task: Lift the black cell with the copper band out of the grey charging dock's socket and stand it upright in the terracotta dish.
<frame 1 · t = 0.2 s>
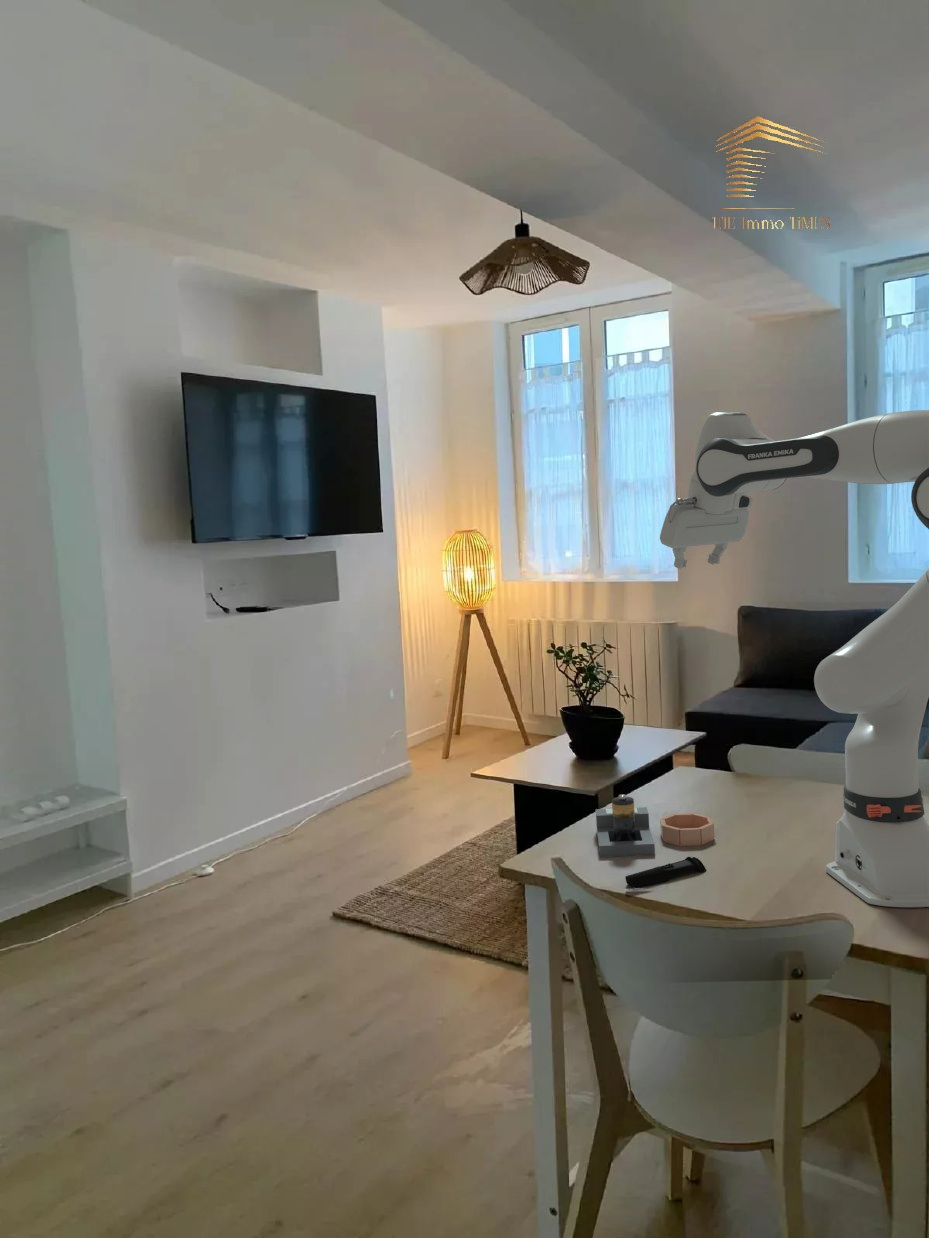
hand: (696, 565, 183), 52 cm above the table, tool tilted 20°, fingers open, 8 cm apart
cell: (625, 845, 177), resting on grey charging dock
dish: (687, 838, 180), on the table
electric trimmer: (667, 882, 161), on the table
grey charging dock: (624, 844, 179), on the table
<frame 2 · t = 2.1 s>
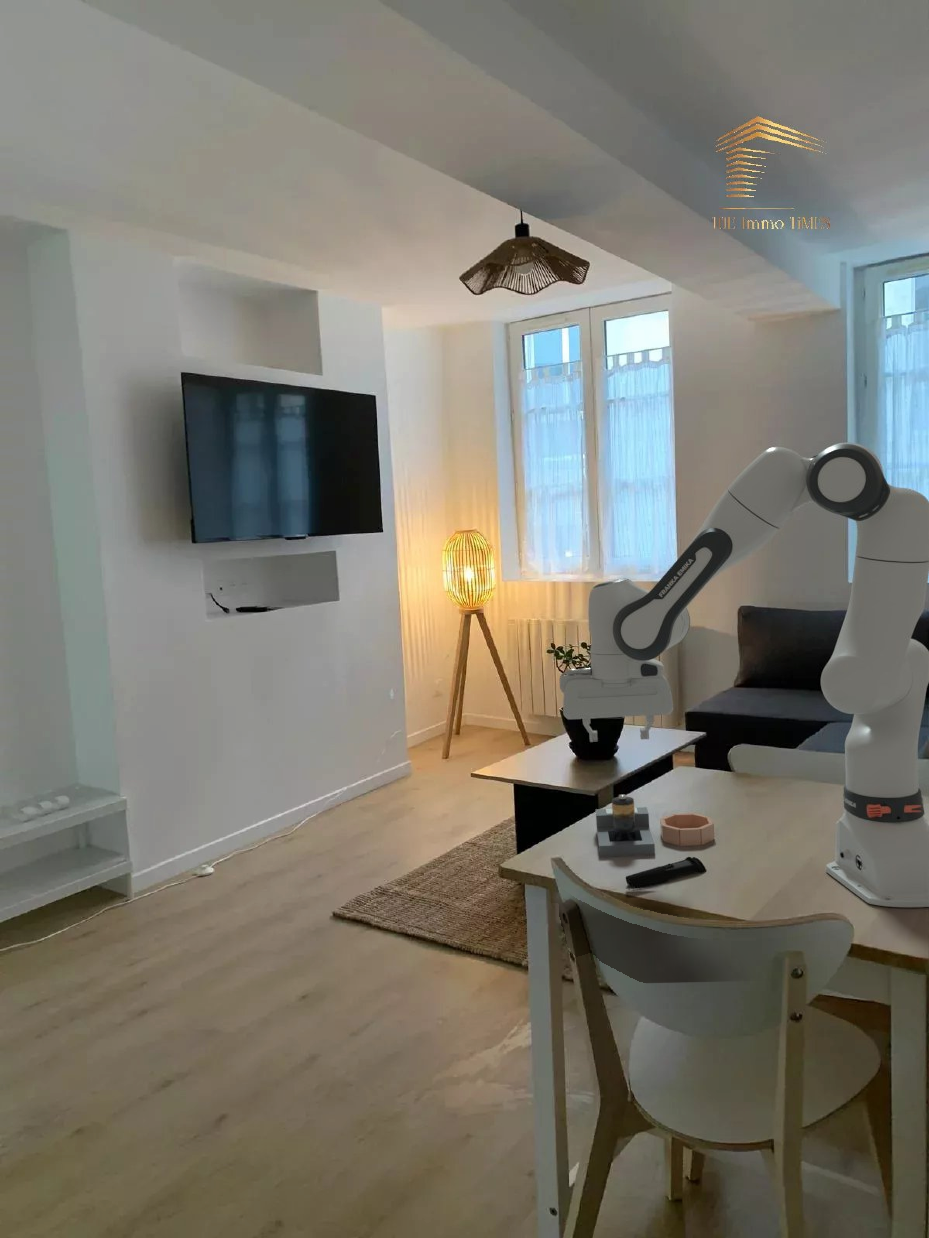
hand: (619, 739, 175), 21 cm above the table, tool pointing down, fingers open, 8 cm apart
nothing on the table moved.
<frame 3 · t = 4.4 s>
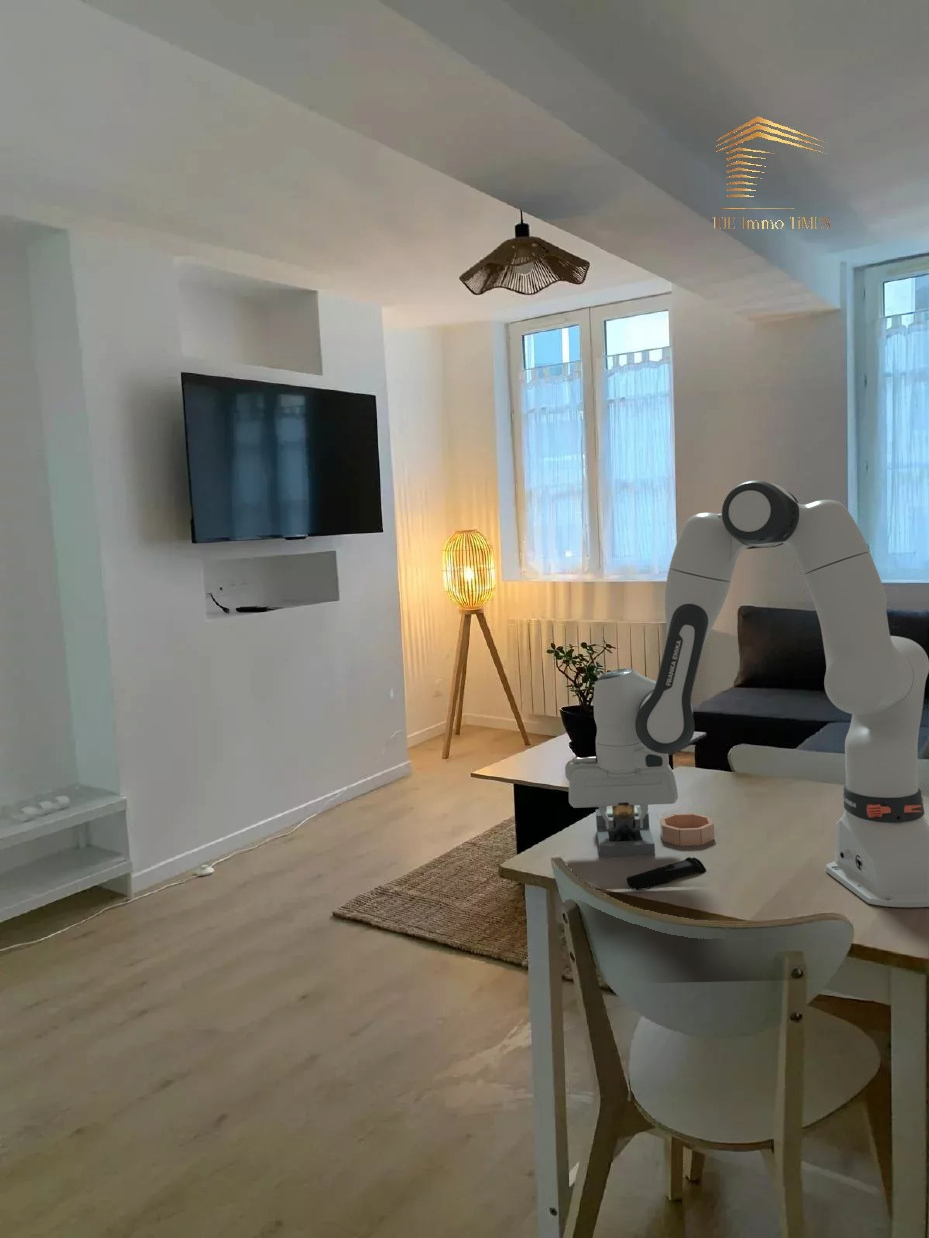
hand: (624, 827, 177), 4 cm above the table, tool pointing down, fingers closed on cell, 4 cm apart
cell: (625, 845, 177), resting on grey charging dock, touching gripper
everything else where it was.
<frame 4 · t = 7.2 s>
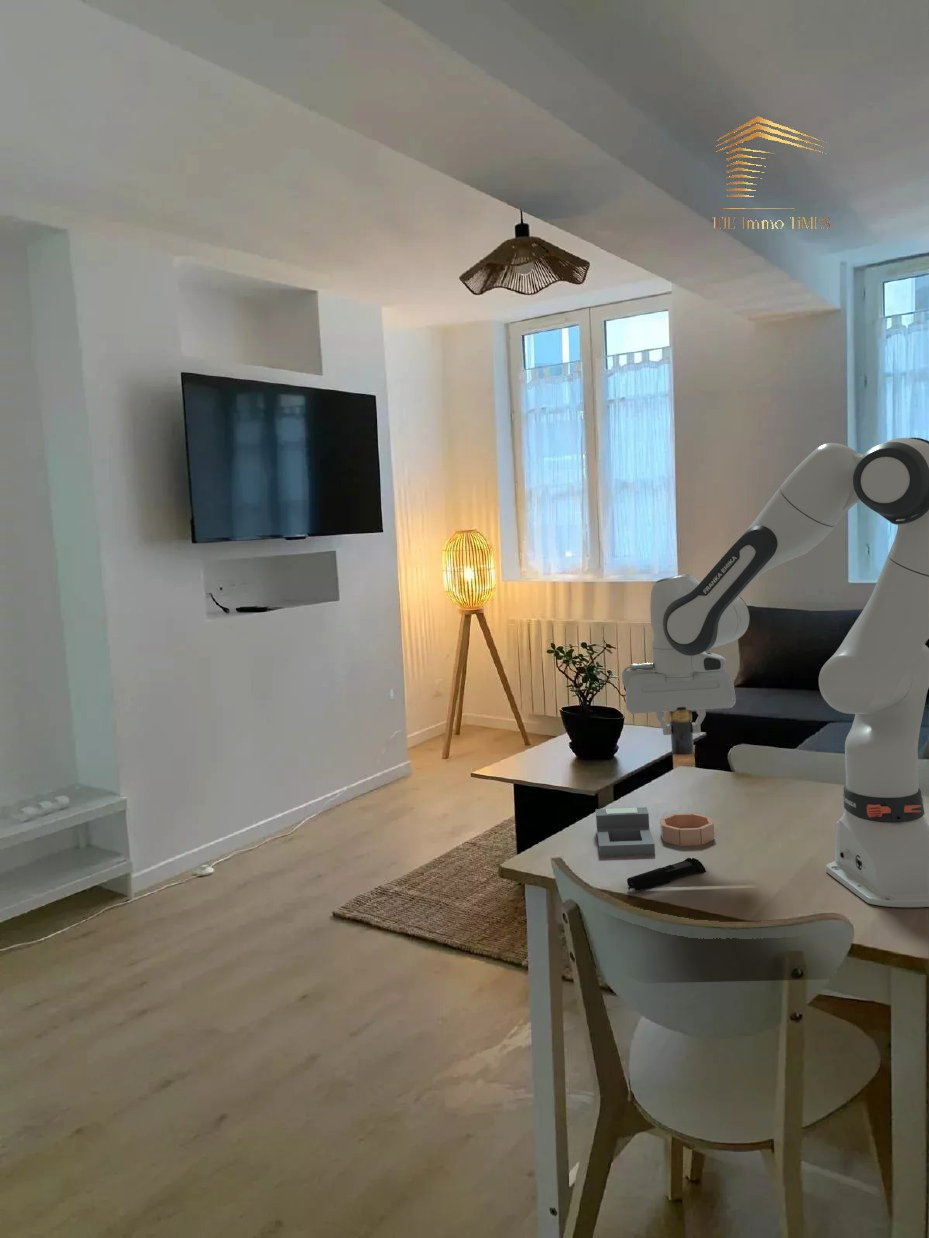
hand: (681, 733, 177), 21 cm above the table, tool pointing down, fingers closed on cell, 4 cm apart
cell: (682, 752, 178), point 17 cm above the table, touching gripper
everything else where it was.
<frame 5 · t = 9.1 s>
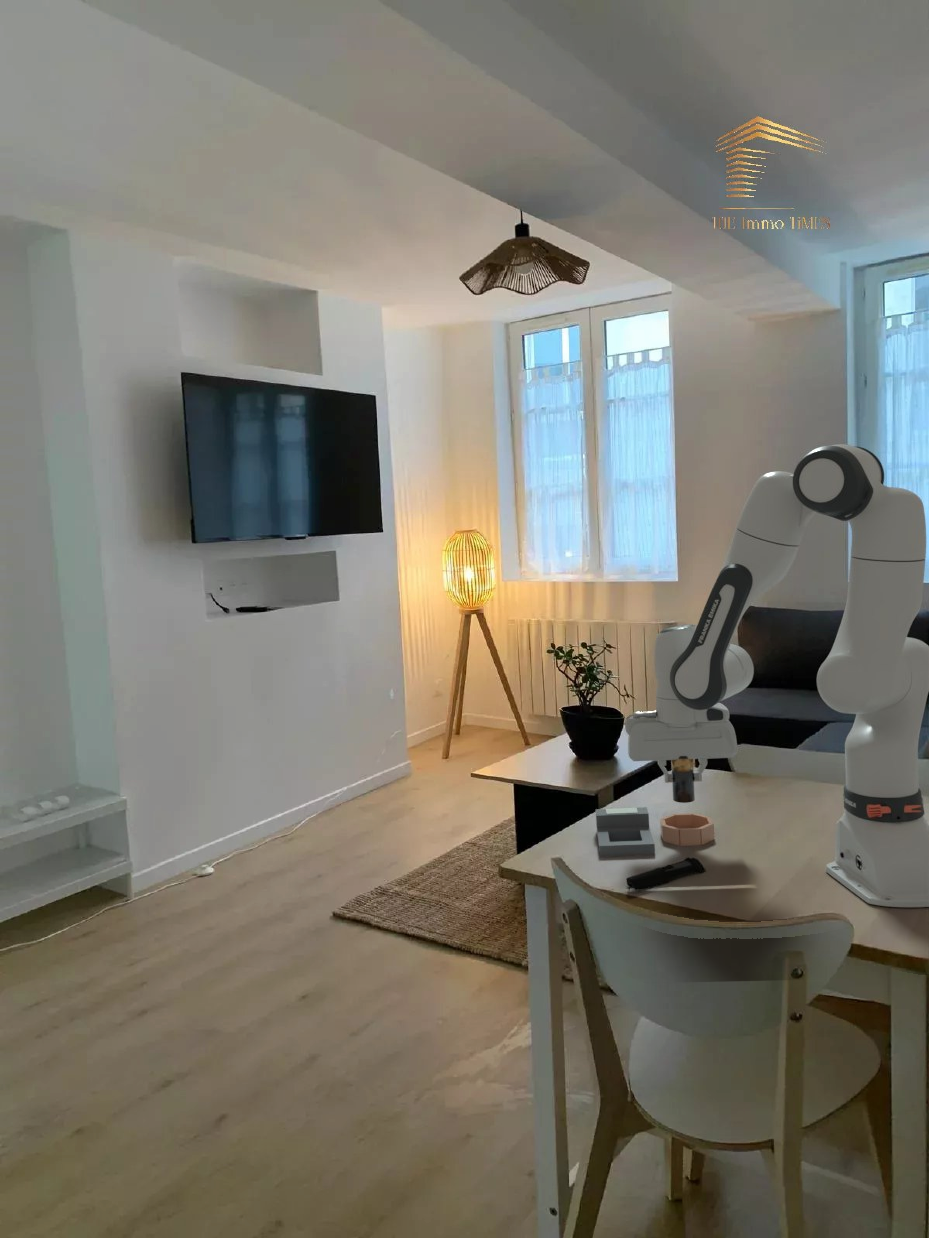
hand: (683, 781, 179), 11 cm above the table, tool pointing down, fingers closed on cell, 4 cm apart
cell: (683, 799, 179), point 8 cm above the table, touching gripper
everything else where it was.
when the fingers open (6 cm above the table, at t = 10.6 s): cell drops 1 cm, resting on dish.
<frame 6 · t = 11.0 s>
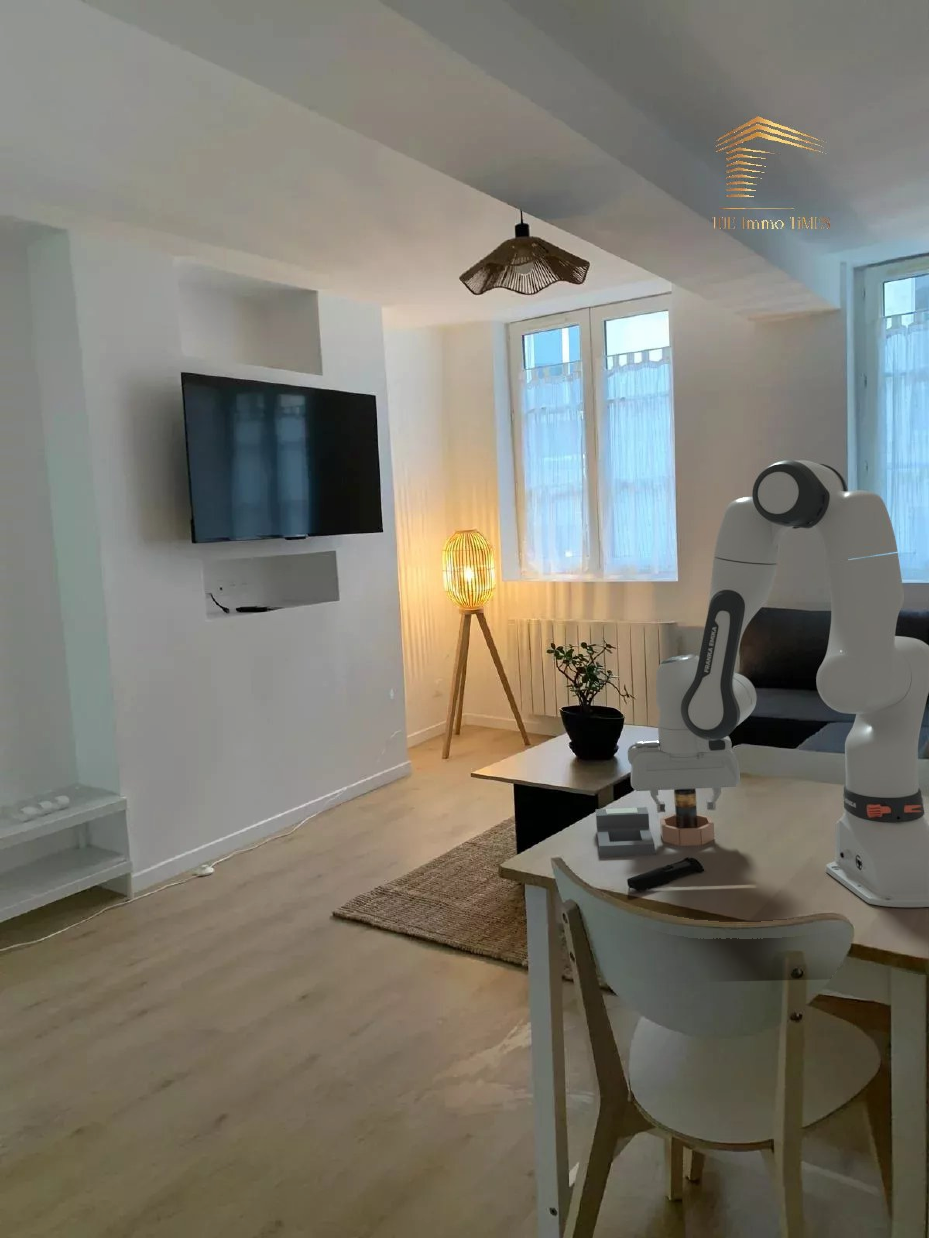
hand: (686, 810, 179), 6 cm above the table, tool pointing down, fingers open, 8 cm apart
cell: (687, 834, 180), point 1 cm above the table, touching dish
everything else where it was.
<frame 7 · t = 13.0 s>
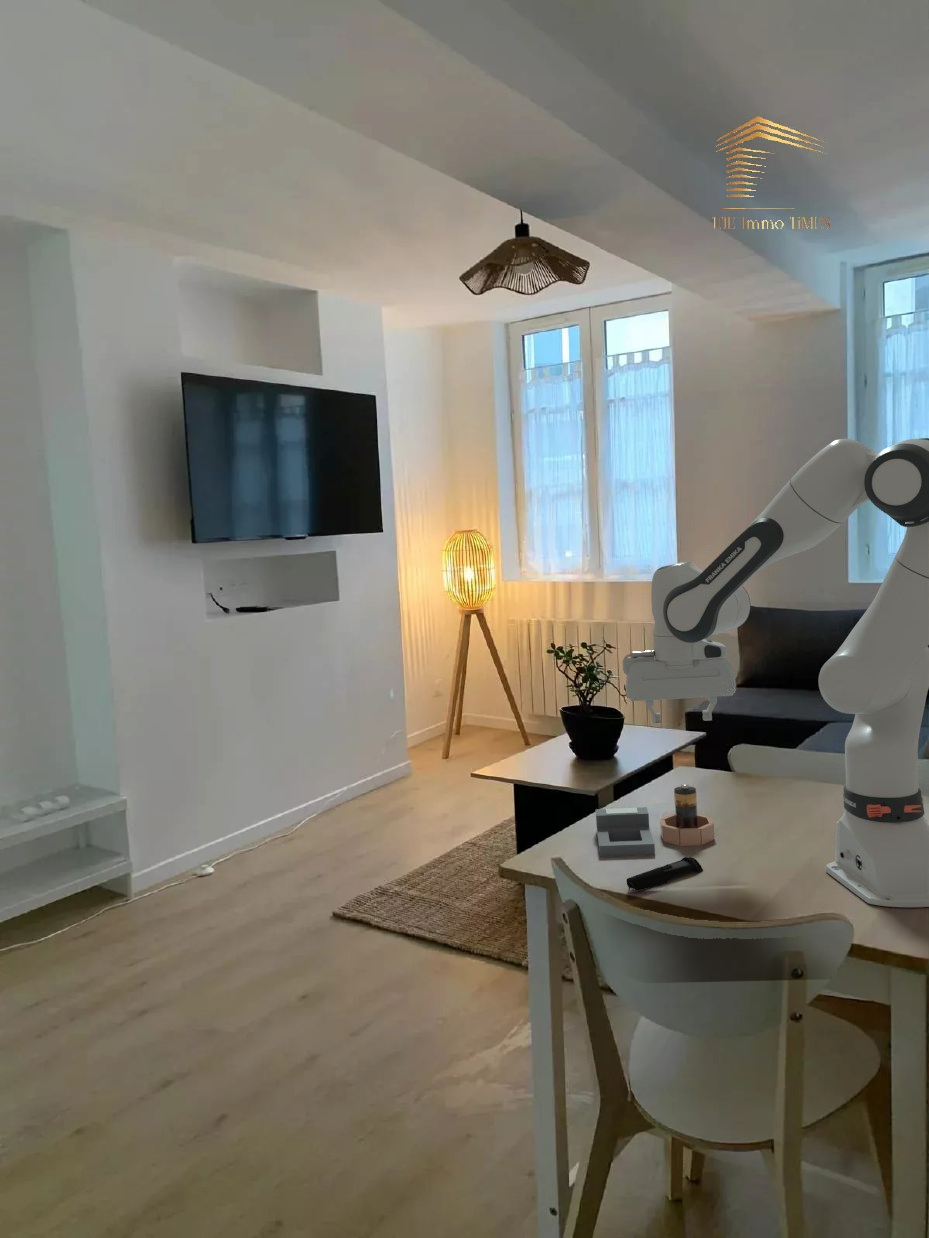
hand: (681, 721, 178), 23 cm above the table, tool pointing down, fingers open, 8 cm apart
nothing on the table moved.
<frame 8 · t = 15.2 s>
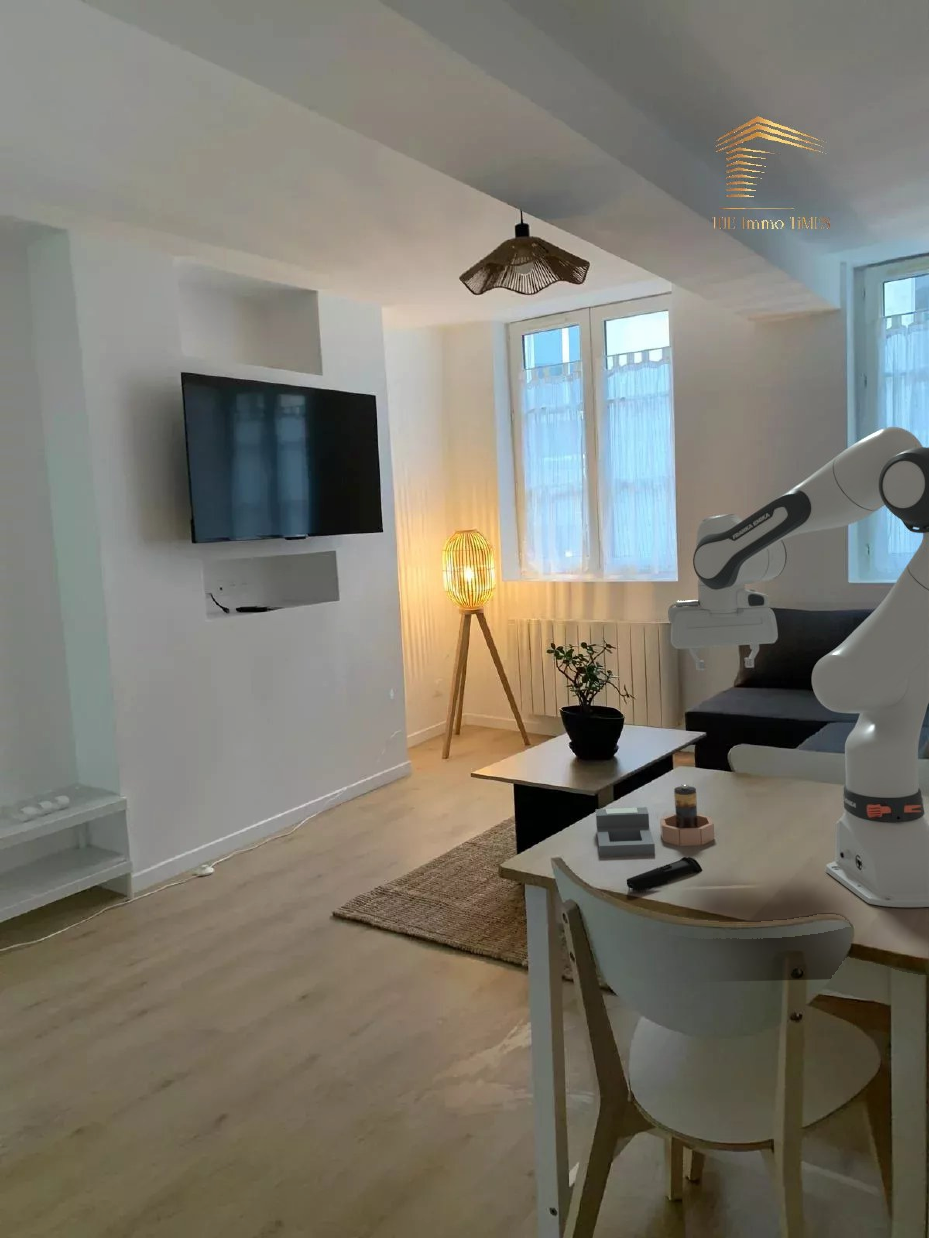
hand: (724, 668, 184), 31 cm above the table, tool pointing down, fingers open, 8 cm apart
nothing on the table moved.
at the end: cell 0.1 cm off-centre on the dish, point 0.8 cm above the dish's base; cell tilted 0°; the gripper is holding nothing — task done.
